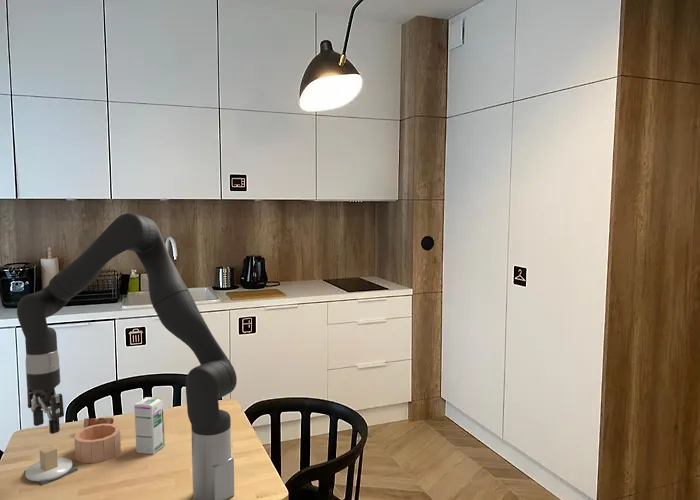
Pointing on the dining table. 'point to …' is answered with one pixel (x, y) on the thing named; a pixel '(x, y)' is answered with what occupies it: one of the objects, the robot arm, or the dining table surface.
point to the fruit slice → (97, 421)
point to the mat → (58, 477)
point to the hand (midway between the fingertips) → (46, 428)
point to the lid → (48, 466)
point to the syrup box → (149, 425)
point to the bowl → (97, 443)
